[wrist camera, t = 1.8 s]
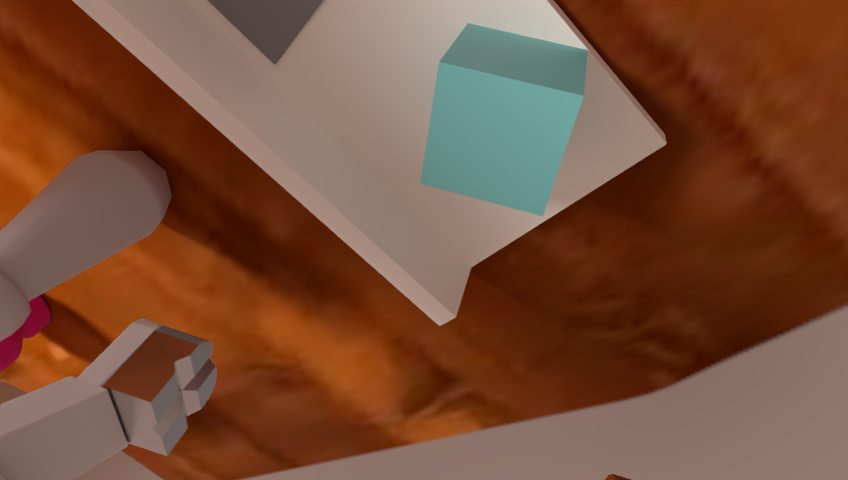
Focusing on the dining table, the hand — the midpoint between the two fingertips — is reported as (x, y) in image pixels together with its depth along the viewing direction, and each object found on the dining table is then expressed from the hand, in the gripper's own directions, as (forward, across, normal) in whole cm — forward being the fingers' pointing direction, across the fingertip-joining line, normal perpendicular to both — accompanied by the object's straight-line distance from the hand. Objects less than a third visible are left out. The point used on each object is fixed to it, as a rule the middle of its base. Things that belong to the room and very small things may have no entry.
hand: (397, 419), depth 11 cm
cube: (+17, 0, 0) cm, 17 cm away
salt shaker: (+18, +22, +11) cm, 30 cm away
